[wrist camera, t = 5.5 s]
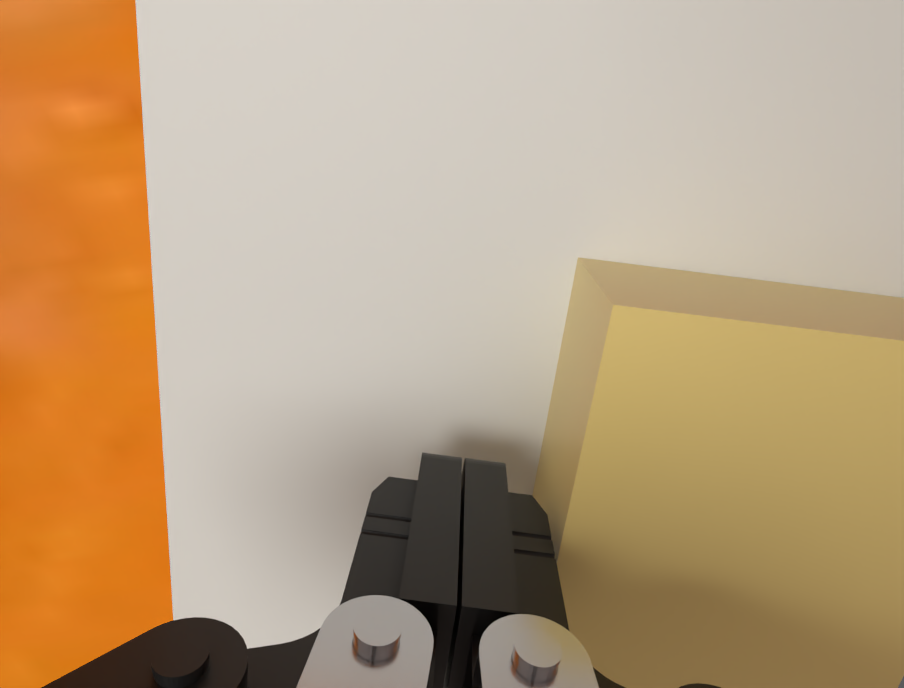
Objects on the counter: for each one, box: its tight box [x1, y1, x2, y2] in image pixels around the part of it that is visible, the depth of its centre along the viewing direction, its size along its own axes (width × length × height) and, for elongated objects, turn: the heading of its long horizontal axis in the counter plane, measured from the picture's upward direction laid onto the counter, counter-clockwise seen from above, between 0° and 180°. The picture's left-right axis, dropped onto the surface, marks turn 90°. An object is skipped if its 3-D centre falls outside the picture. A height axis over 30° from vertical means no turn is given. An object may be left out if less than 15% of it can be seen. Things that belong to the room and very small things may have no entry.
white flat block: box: [136, 0, 904, 649], centre depth 14 cm, size 20×14×4 cm
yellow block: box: [532, 257, 904, 688], centre depth 11 cm, size 9×6×3 cm, turn 173°
